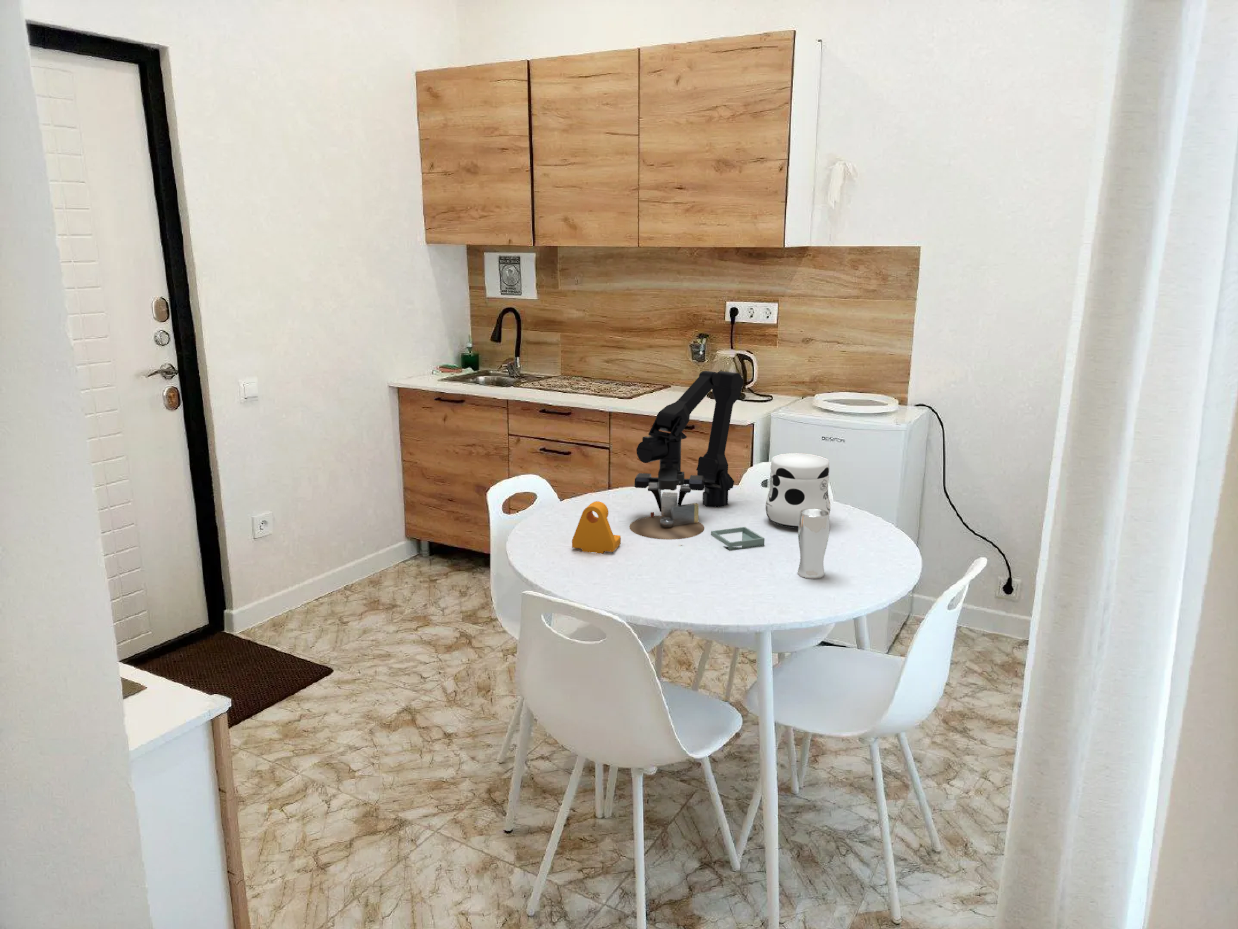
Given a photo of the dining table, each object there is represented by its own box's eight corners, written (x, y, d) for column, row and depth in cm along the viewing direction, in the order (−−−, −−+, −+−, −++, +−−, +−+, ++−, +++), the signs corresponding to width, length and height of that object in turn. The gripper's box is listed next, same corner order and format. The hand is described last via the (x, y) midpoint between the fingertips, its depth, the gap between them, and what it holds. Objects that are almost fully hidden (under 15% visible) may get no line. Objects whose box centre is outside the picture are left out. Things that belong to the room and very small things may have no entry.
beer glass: (793, 568, 205) (796, 507, 201) (823, 569, 205) (827, 508, 201) (798, 579, 198) (801, 516, 195) (829, 580, 198) (833, 517, 194)
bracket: (621, 545, 221) (621, 500, 218) (613, 555, 214) (613, 508, 211) (581, 541, 224) (581, 496, 221) (572, 550, 217) (571, 504, 214)
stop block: (662, 516, 241) (663, 492, 239) (677, 517, 240) (677, 492, 238) (661, 520, 237) (661, 496, 235) (675, 521, 236) (676, 496, 235)
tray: (744, 534, 229) (744, 526, 229) (764, 545, 220) (764, 538, 220) (710, 538, 226) (711, 531, 225) (729, 550, 217) (729, 543, 216)
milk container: (842, 525, 236) (847, 461, 232) (797, 537, 227) (800, 470, 222) (796, 510, 250) (799, 449, 246) (751, 520, 241) (754, 457, 236)
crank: (663, 528, 229) (663, 509, 228) (657, 524, 233) (658, 506, 231) (700, 523, 233) (700, 505, 232) (694, 519, 237) (694, 501, 235)
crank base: (684, 515, 245) (684, 508, 244) (717, 537, 227) (717, 529, 226) (618, 523, 238) (618, 516, 237) (647, 546, 219) (647, 538, 219)
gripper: (631, 462, 228) (631, 519, 232) (703, 465, 225) (701, 522, 229) (637, 452, 239) (637, 507, 242) (705, 455, 236) (704, 510, 240)
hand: (669, 512), depth 238 cm, fingers open, 4 cm apart
